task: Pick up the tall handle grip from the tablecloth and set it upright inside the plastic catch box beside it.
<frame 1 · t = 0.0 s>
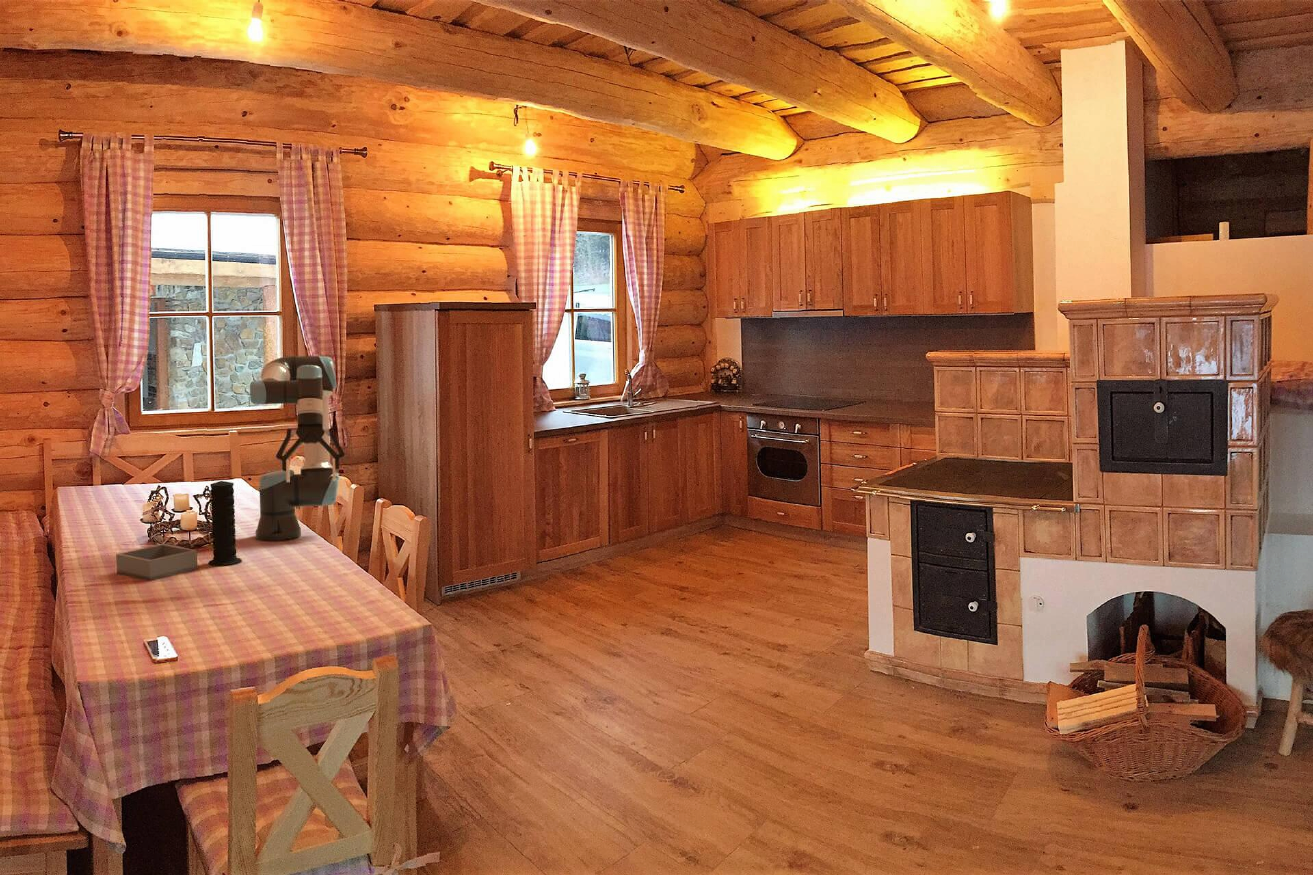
hand: (311, 480, 313), 28 cm above the table, tool tilted 20°, fingers open, 13 cm apart
catch box: (157, 571, 310), on the table
handle grip: (225, 562, 322), on the table
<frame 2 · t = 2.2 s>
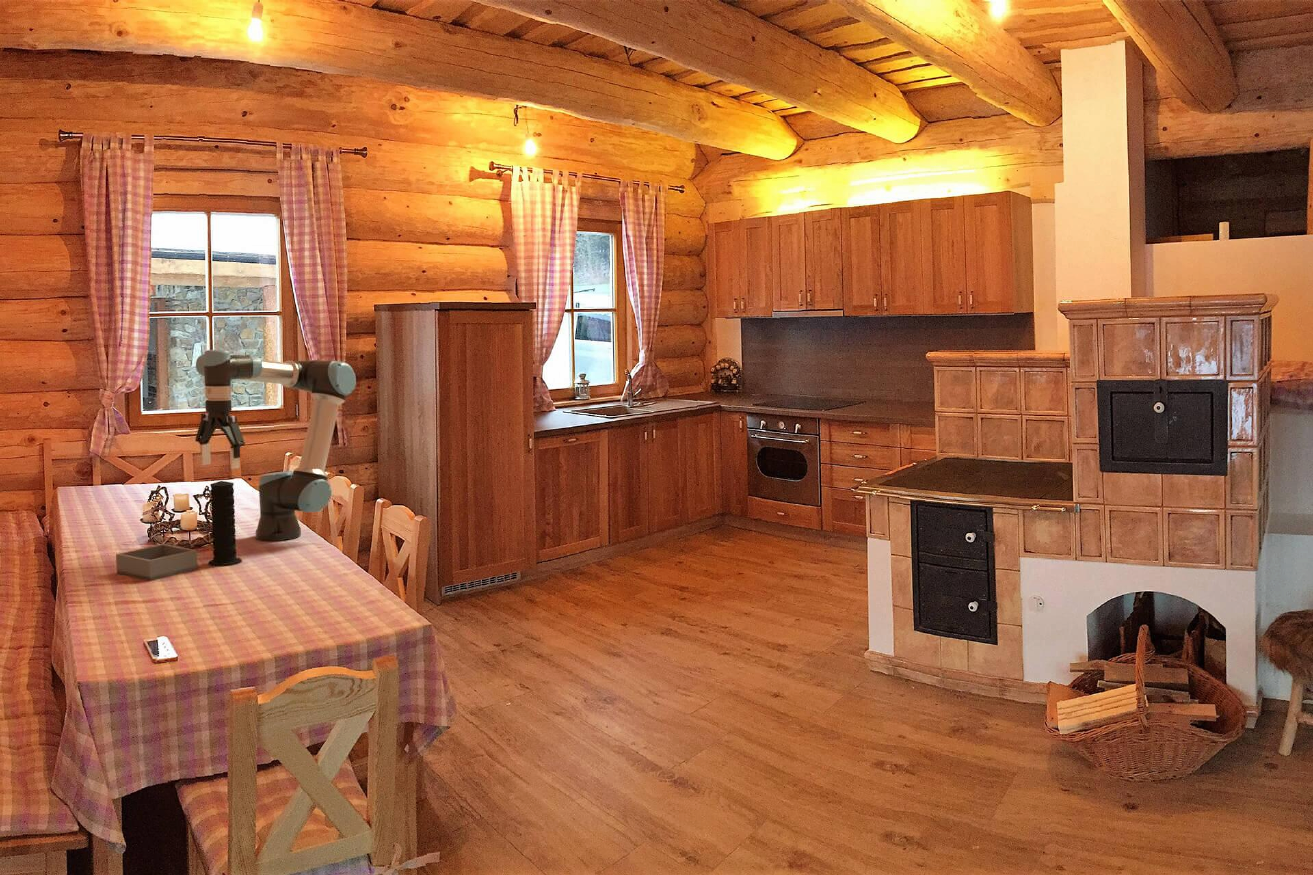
hand: (220, 466, 318), 31 cm above the table, tool pointing down, fingers open, 13 cm apart
nothing on the table moved.
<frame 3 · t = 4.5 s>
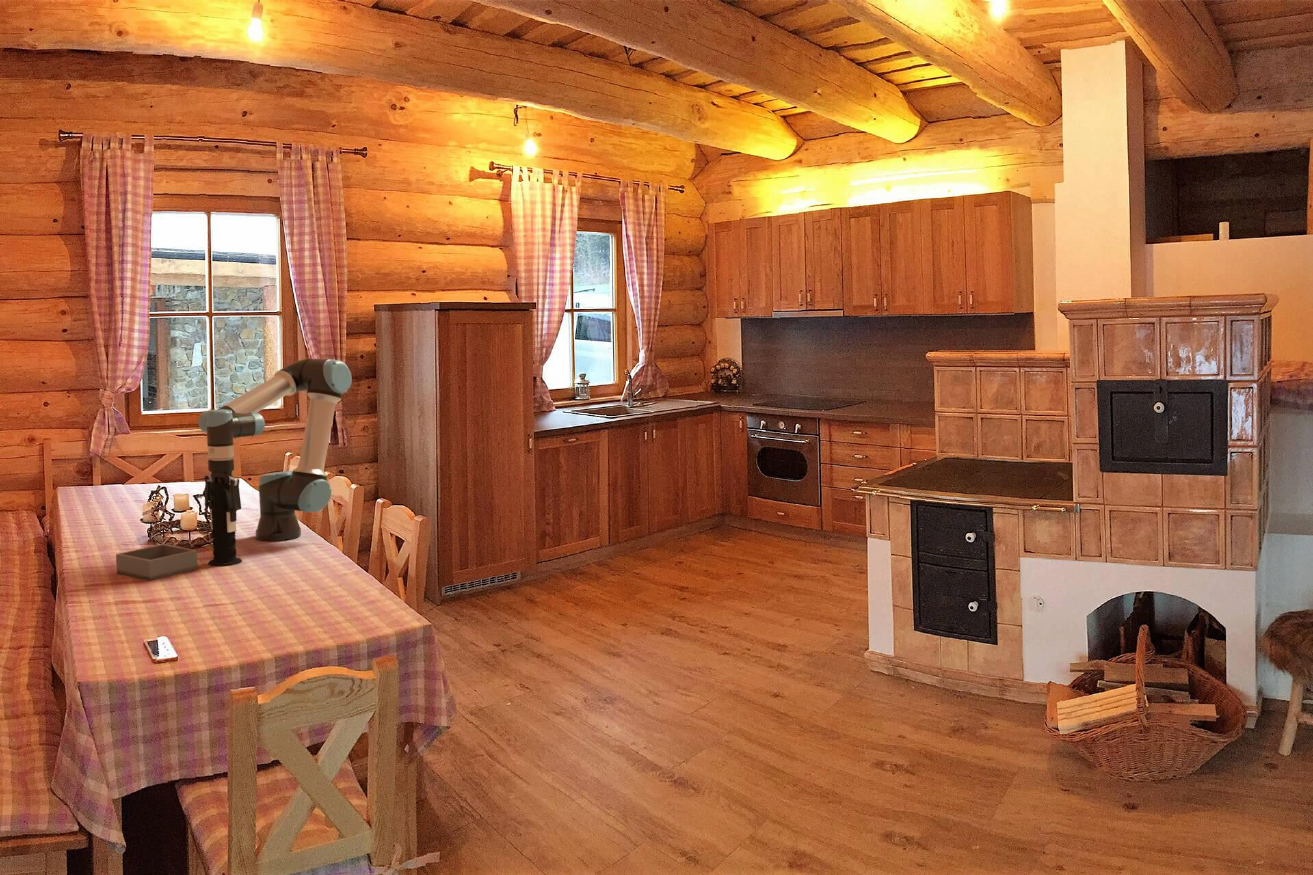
hand: (223, 529, 321), 11 cm above the table, tool pointing down, fingers closed on handle grip, 7 cm apart
handle grip: (225, 562, 322), on the table, touching gripper
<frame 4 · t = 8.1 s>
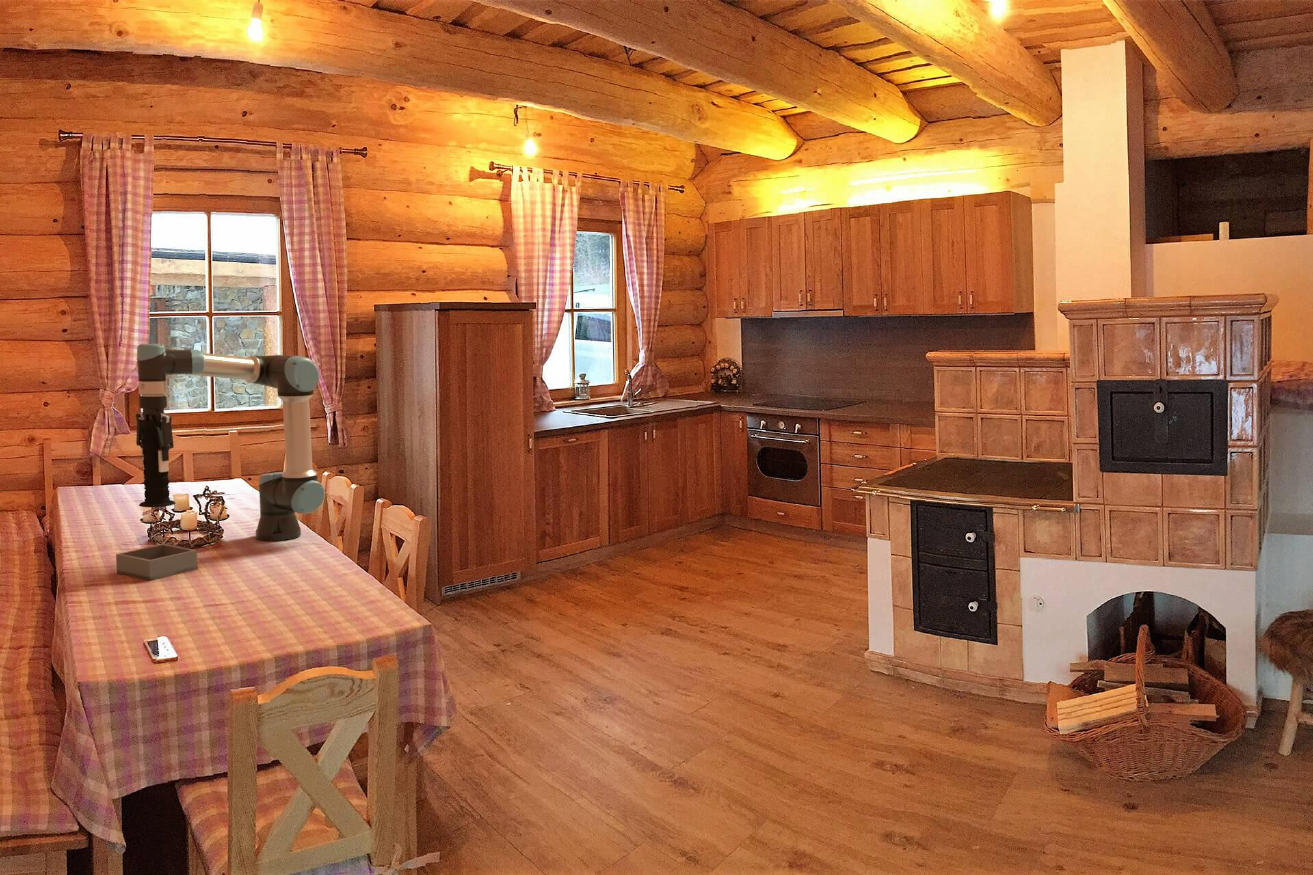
hand: (155, 470, 307), 31 cm above the table, tool pointing down, fingers closed on handle grip, 7 cm apart
handle grip: (157, 504, 308), point 21 cm above the table, touching gripper
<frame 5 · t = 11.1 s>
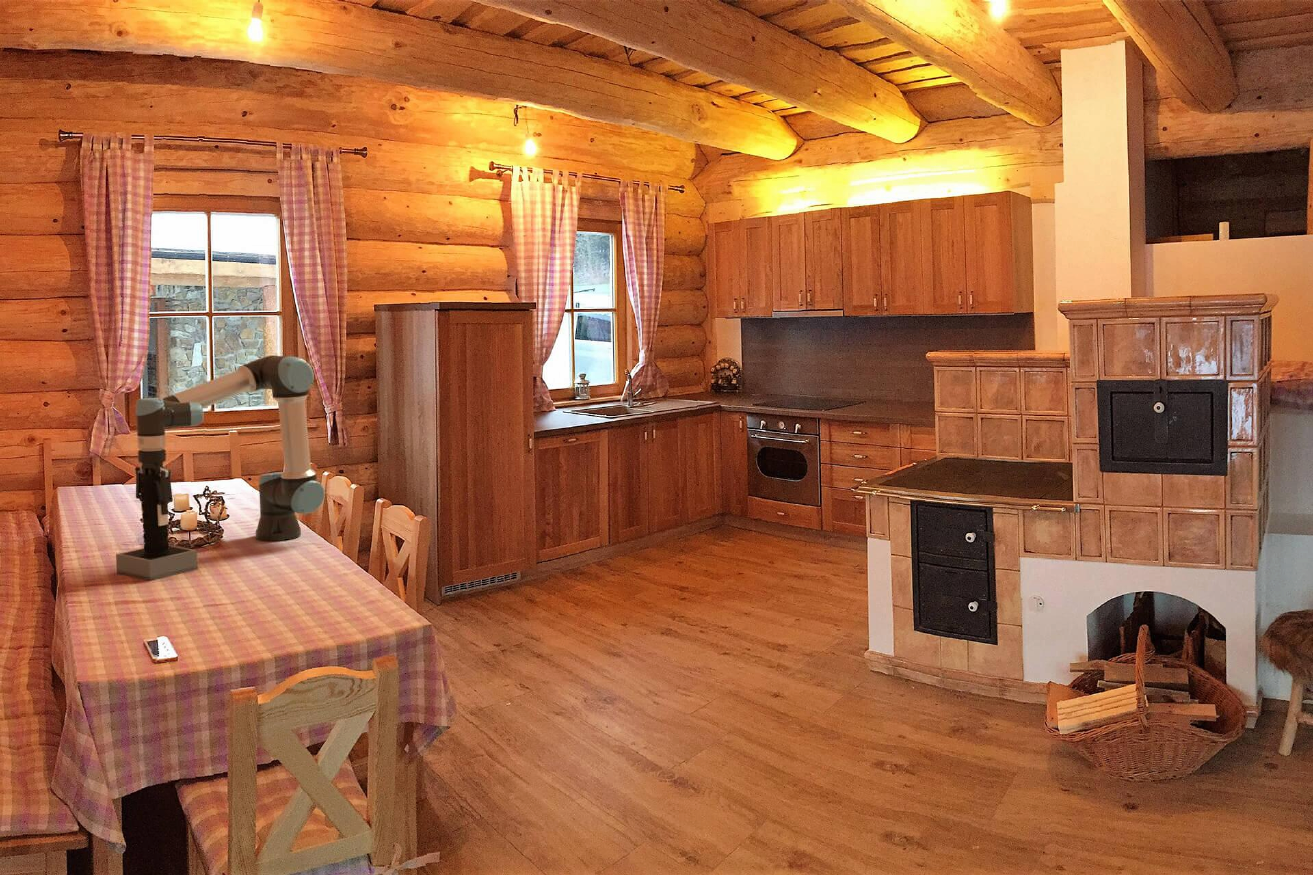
hand: (155, 523, 309), 15 cm above the table, tool pointing down, fingers closed on handle grip, 7 cm apart
handle grip: (156, 557, 310), point 4 cm above the table, touching gripper
when the fingers open (13 cm above the table, at t = 12.0 s): handle grip drops 2 cm, resting on catch box.
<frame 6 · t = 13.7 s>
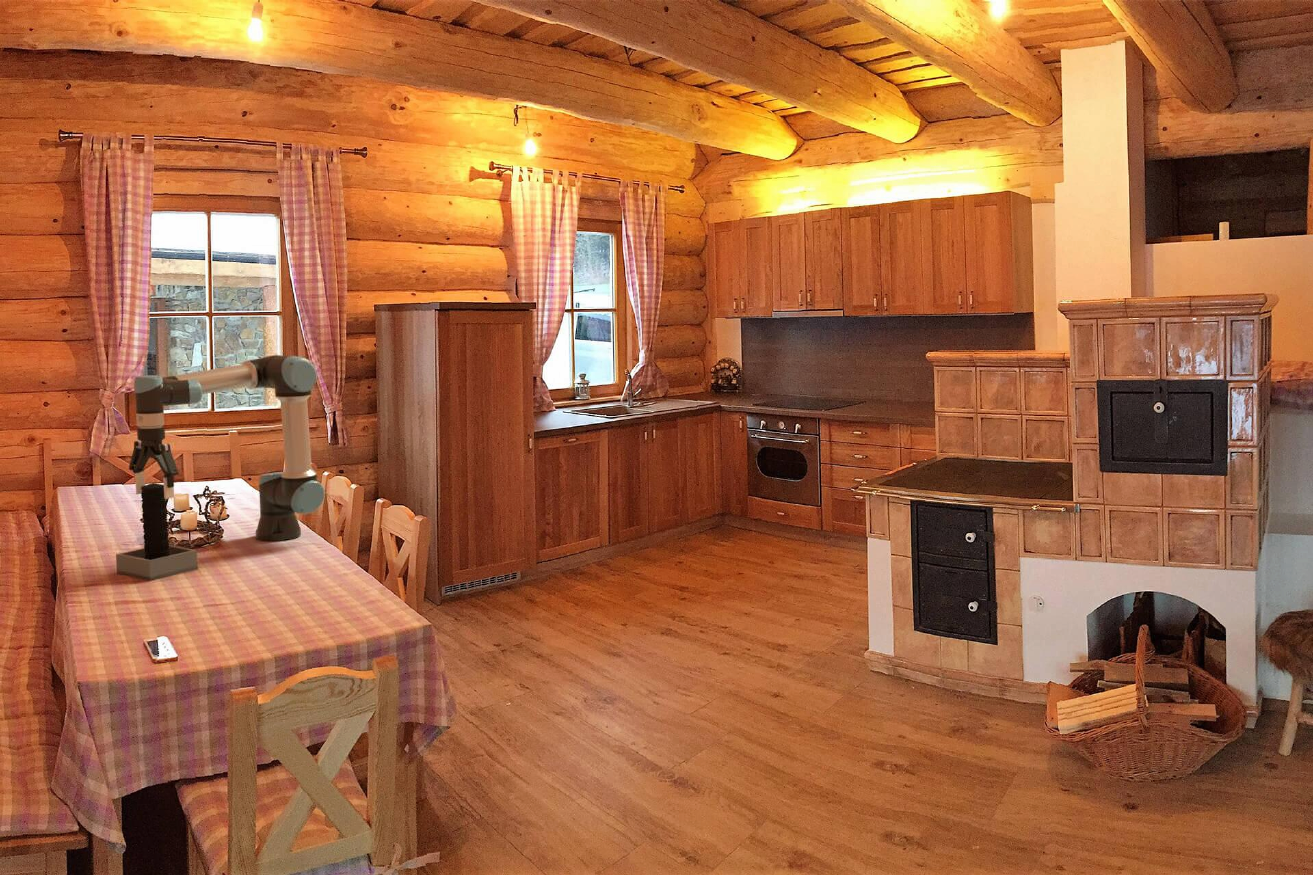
hand: (155, 495, 308), 24 cm above the table, tool pointing down, fingers open, 13 cm apart
handle grip: (157, 568, 310), point 1 cm above the table, touching catch box
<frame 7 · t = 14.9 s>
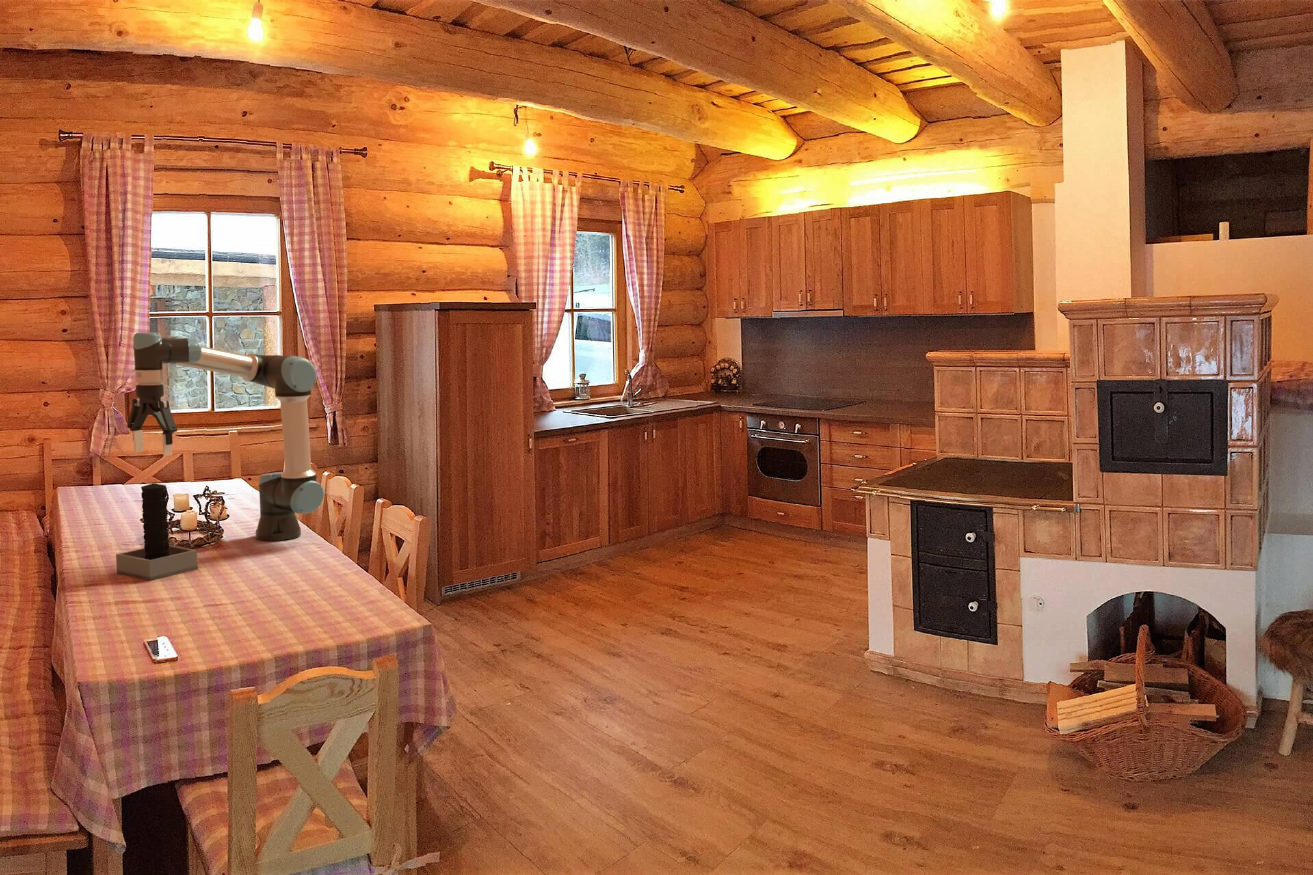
hand: (153, 453, 307), 36 cm above the table, tool pointing down, fingers open, 13 cm apart
nothing on the table moved.
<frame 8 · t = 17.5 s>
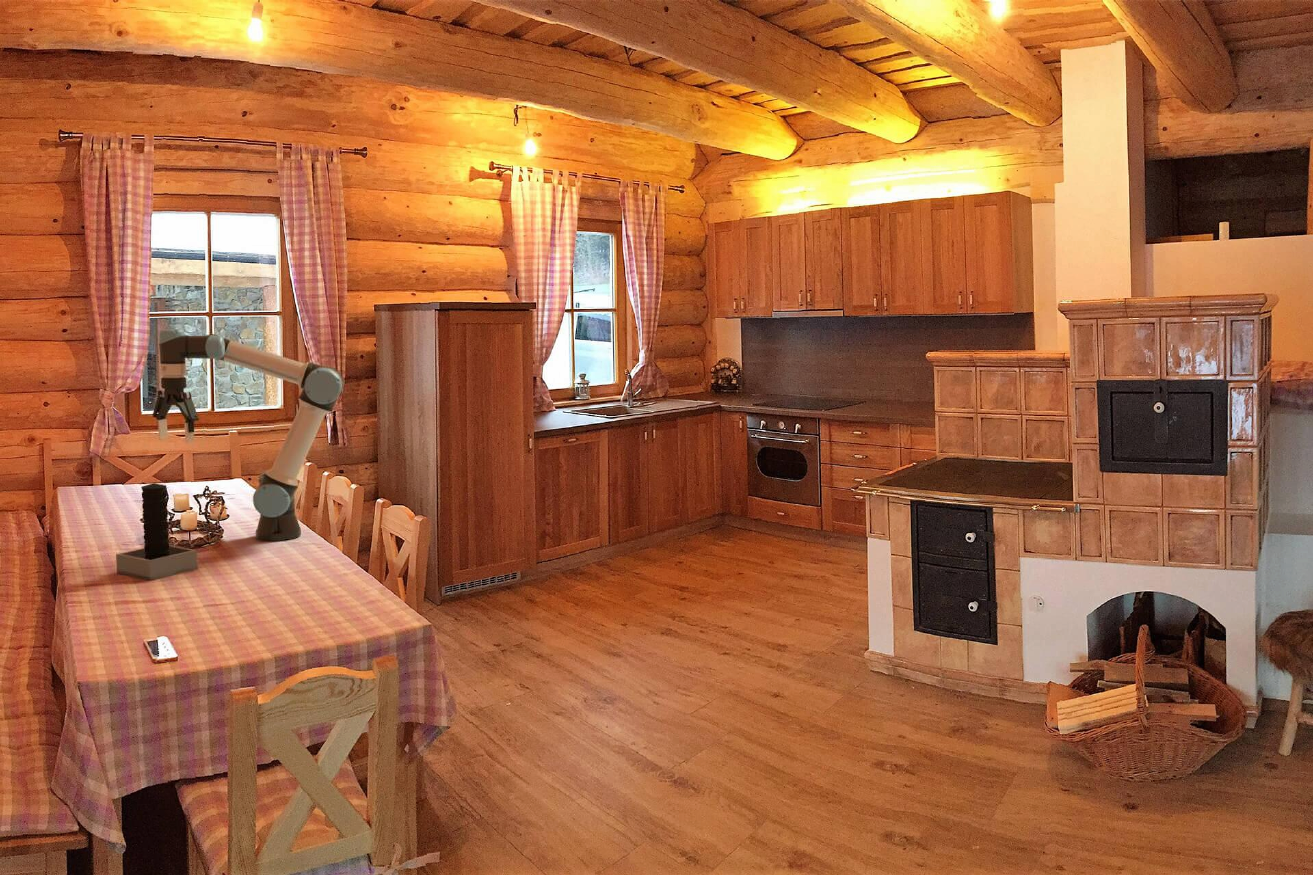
hand: (176, 440, 334), 37 cm above the table, tool pointing down, fingers open, 13 cm apart
nothing on the table moved.
at the end: handle grip inside the target area on the catch box (0.1 cm from its centre), point 0.8 cm above the catch box's base; handle grip tilted 0°; the gripper is holding nothing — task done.
